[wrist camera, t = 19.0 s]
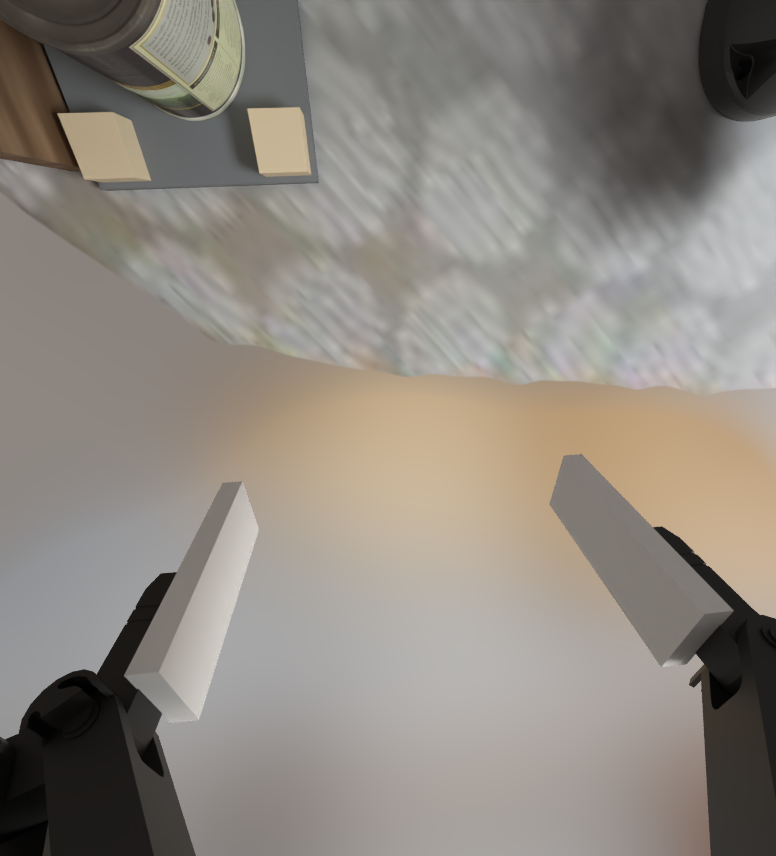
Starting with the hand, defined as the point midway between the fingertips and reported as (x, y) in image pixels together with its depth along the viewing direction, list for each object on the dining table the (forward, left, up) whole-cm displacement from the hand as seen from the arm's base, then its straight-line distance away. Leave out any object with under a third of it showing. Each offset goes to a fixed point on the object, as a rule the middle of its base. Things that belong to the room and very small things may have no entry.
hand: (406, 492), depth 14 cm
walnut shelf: (+19, -23, -29) cm, 41 cm away
